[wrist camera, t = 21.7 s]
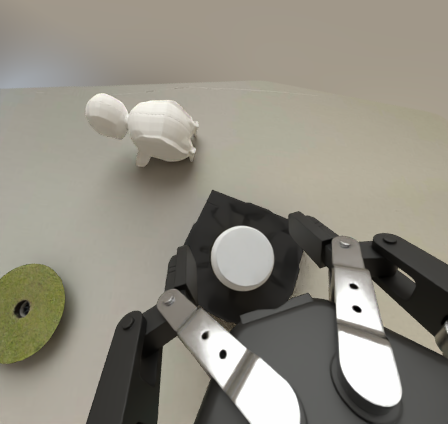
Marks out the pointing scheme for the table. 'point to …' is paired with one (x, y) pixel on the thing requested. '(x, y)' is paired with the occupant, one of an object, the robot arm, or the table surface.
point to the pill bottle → (242, 258)
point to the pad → (277, 236)
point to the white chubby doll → (145, 127)
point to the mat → (28, 310)
